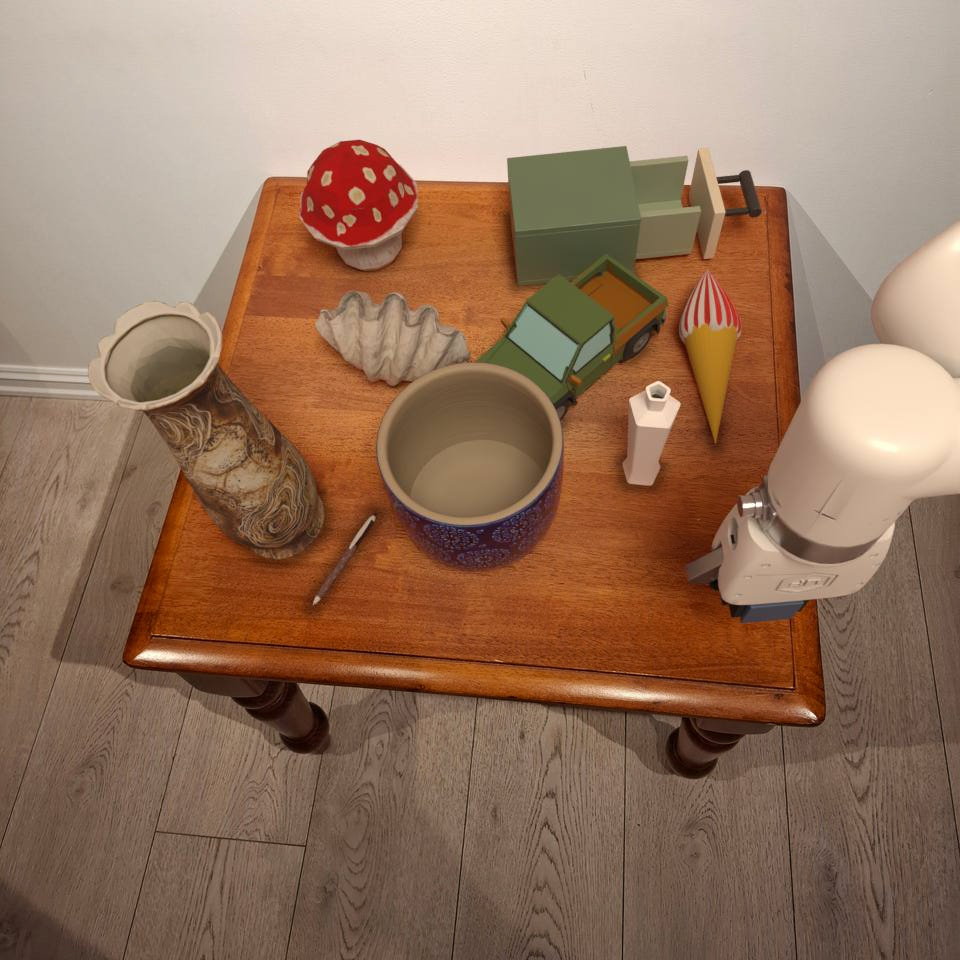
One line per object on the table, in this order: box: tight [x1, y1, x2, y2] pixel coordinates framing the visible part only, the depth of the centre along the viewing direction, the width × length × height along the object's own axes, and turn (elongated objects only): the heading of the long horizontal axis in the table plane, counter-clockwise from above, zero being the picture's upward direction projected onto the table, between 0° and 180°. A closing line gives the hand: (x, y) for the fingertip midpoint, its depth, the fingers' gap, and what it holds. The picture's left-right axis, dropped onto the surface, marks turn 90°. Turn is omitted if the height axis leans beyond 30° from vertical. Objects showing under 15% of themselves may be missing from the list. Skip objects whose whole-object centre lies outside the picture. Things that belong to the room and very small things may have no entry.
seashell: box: [314, 290, 471, 387], centre depth 90 cm, size 10×15×10 cm
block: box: [738, 600, 804, 624], centre depth 66 cm, size 4×4×4 cm
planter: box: [375, 361, 565, 572], centre depth 79 cm, size 16×16×15 cm
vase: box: [87, 300, 326, 560], centre depth 74 cm, size 10×11×30 cm
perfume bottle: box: [621, 380, 681, 487], centre depth 80 cm, size 5×4×15 cm
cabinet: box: [506, 145, 641, 287], centre depth 97 cm, size 14×11×9 cm
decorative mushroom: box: [299, 139, 419, 272], centre depth 96 cm, size 14×14×15 cm
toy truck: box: [474, 254, 669, 421], centre depth 89 cm, size 11×21×10 cm, turn 133°
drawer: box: [629, 147, 763, 260], centre depth 97 cm, size 17×10×7 cm, turn 94°
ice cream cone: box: [678, 268, 743, 445], centre depth 90 cm, size 6×6×20 cm
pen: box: [312, 512, 378, 606], centre depth 84 cm, size 11×1×1 cm, turn 149°
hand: (761, 596), depth 67 cm, fingers closed on block, 4 cm apart
